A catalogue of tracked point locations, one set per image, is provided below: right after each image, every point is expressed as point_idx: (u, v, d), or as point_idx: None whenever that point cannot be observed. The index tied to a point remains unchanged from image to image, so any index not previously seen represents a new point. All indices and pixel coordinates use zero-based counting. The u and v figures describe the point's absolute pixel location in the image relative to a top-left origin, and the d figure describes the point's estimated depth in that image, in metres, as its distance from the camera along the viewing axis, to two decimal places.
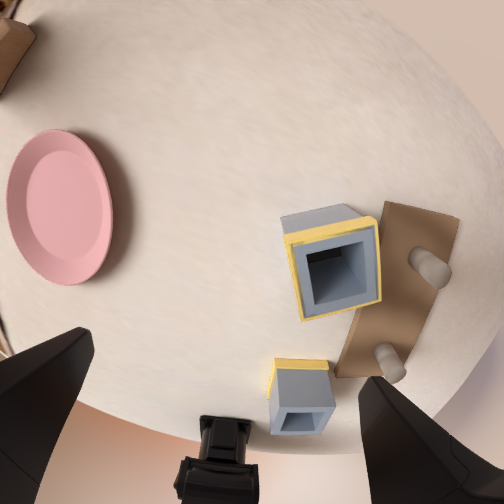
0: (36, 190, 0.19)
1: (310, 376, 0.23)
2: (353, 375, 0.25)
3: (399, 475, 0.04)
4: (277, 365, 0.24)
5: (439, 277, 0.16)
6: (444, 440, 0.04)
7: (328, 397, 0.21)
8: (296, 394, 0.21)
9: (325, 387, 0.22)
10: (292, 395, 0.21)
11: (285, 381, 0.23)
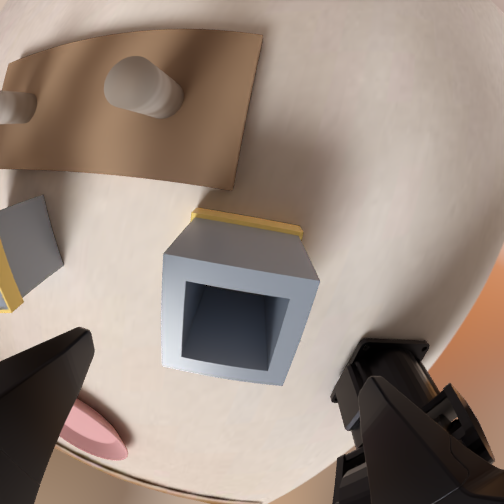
0: (74, 427, 0.23)
1: None
2: (231, 149, 0.12)
3: (399, 475, 0.04)
4: None
5: None
6: (444, 440, 0.04)
7: None
8: None
9: None
10: None
11: None
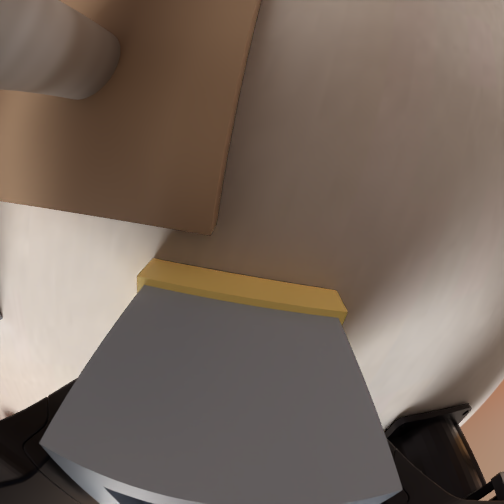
0: None
1: None
2: (209, 148, 0.05)
3: None
4: None
5: None
6: None
7: None
8: None
9: None
10: None
11: None
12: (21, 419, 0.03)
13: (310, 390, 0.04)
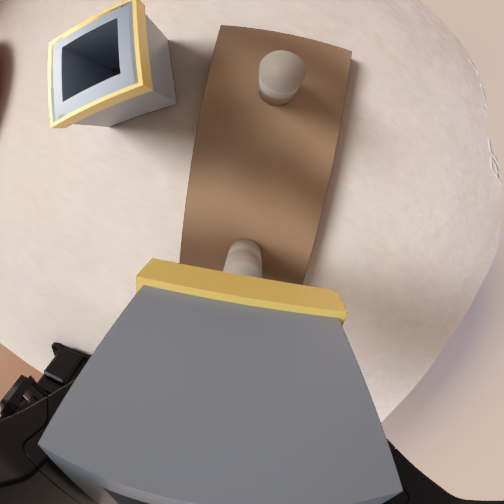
0: None
1: None
2: None
3: None
4: None
5: (276, 69, 0.10)
6: None
7: None
8: None
9: None
10: None
11: None
12: (21, 419, 0.03)
13: (310, 391, 0.04)
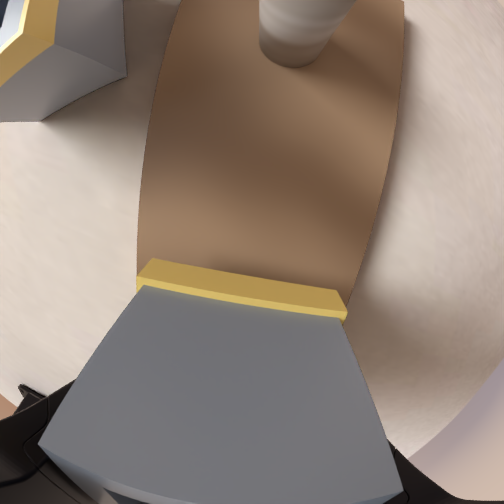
0: None
1: None
2: None
3: None
4: None
5: None
6: None
7: None
8: None
9: None
10: None
11: None
12: (21, 419, 0.03)
13: (310, 390, 0.04)
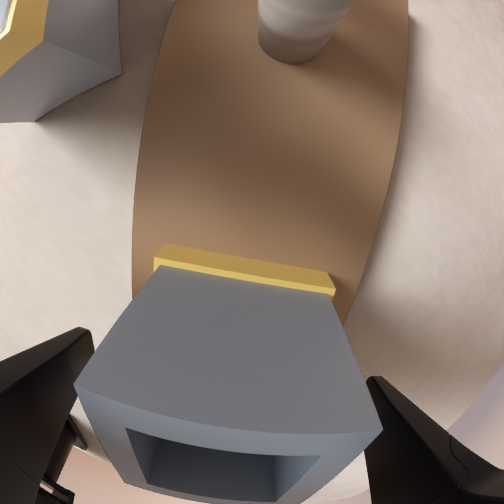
0: None
1: None
2: None
3: (399, 475, 0.04)
4: None
5: None
6: (444, 440, 0.04)
7: None
8: None
9: None
10: None
11: None
12: None
13: (301, 345, 0.05)
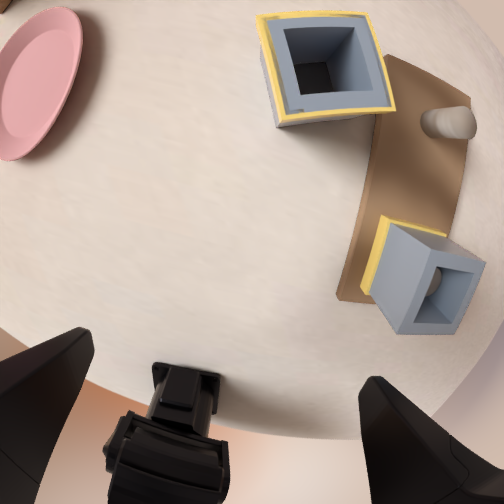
0: (15, 73, 0.13)
1: (388, 254, 0.15)
2: (363, 299, 0.19)
3: (399, 475, 0.04)
4: (365, 289, 0.17)
5: (463, 121, 0.10)
6: (444, 440, 0.04)
7: (417, 250, 0.12)
8: (396, 296, 0.14)
9: (405, 243, 0.13)
10: (395, 303, 0.14)
11: (381, 295, 0.15)
12: None
13: (454, 245, 0.13)
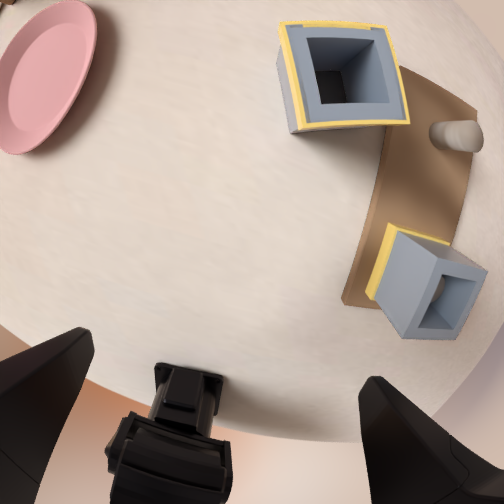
0: (24, 65, 0.13)
1: (395, 261, 0.16)
2: (367, 304, 0.19)
3: (399, 475, 0.04)
4: (370, 295, 0.18)
5: (471, 135, 0.11)
6: (444, 440, 0.04)
7: (423, 258, 0.13)
8: (402, 302, 0.14)
9: (412, 251, 0.14)
10: (400, 308, 0.14)
11: (386, 301, 0.16)
12: None
13: (457, 254, 0.14)
